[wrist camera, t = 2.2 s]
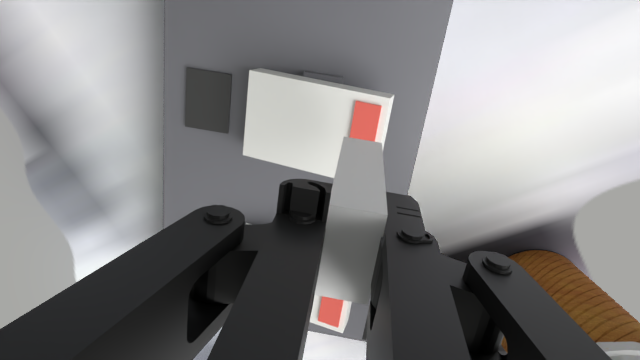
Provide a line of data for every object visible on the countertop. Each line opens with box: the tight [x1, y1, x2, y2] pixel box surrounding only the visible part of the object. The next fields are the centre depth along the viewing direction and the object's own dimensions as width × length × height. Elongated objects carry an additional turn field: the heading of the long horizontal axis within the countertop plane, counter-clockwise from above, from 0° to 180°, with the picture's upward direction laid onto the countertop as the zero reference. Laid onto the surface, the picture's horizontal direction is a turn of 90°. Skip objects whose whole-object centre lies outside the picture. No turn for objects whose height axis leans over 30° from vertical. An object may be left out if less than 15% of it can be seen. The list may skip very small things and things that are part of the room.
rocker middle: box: [243, 68, 394, 178], centre depth 22 cm, size 4×7×1 cm, turn 82°
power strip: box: [163, 0, 453, 342], centre depth 24 cm, size 28×14×4 cm, turn 172°
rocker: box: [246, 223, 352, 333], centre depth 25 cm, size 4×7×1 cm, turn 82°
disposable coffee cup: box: [501, 250, 640, 360], centre depth 24 cm, size 10×10×12 cm
